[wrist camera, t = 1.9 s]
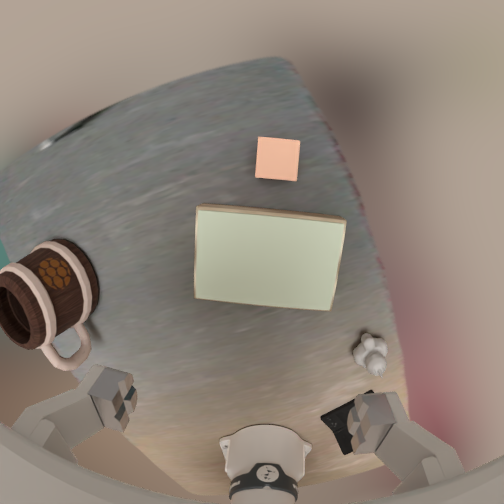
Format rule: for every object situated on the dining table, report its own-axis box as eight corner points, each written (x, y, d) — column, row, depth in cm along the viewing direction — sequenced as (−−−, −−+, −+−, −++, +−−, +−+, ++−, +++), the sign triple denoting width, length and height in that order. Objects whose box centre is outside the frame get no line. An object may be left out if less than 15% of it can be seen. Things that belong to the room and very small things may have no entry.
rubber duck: (355, 364, 43) (367, 396, 35) (345, 334, 41) (358, 365, 33) (385, 351, 42) (401, 381, 34) (377, 320, 40) (395, 348, 33)
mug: (28, 258, 42) (-28, 285, 27) (73, 220, 39) (6, 243, 25) (80, 348, 46) (37, 394, 32) (132, 328, 43) (88, 383, 29)
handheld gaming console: (366, 389, 42) (389, 437, 36) (378, 386, 47) (399, 428, 41) (314, 417, 46) (333, 461, 40) (331, 412, 51) (349, 451, 45)
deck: (326, 300, 40) (331, 313, 36) (199, 288, 41) (192, 300, 37) (340, 216, 37) (347, 221, 33) (202, 203, 37) (195, 206, 33)
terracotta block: (290, 179, 36) (296, 181, 27) (258, 176, 36) (255, 177, 27) (293, 148, 35) (300, 140, 26) (261, 145, 35) (258, 136, 26)
